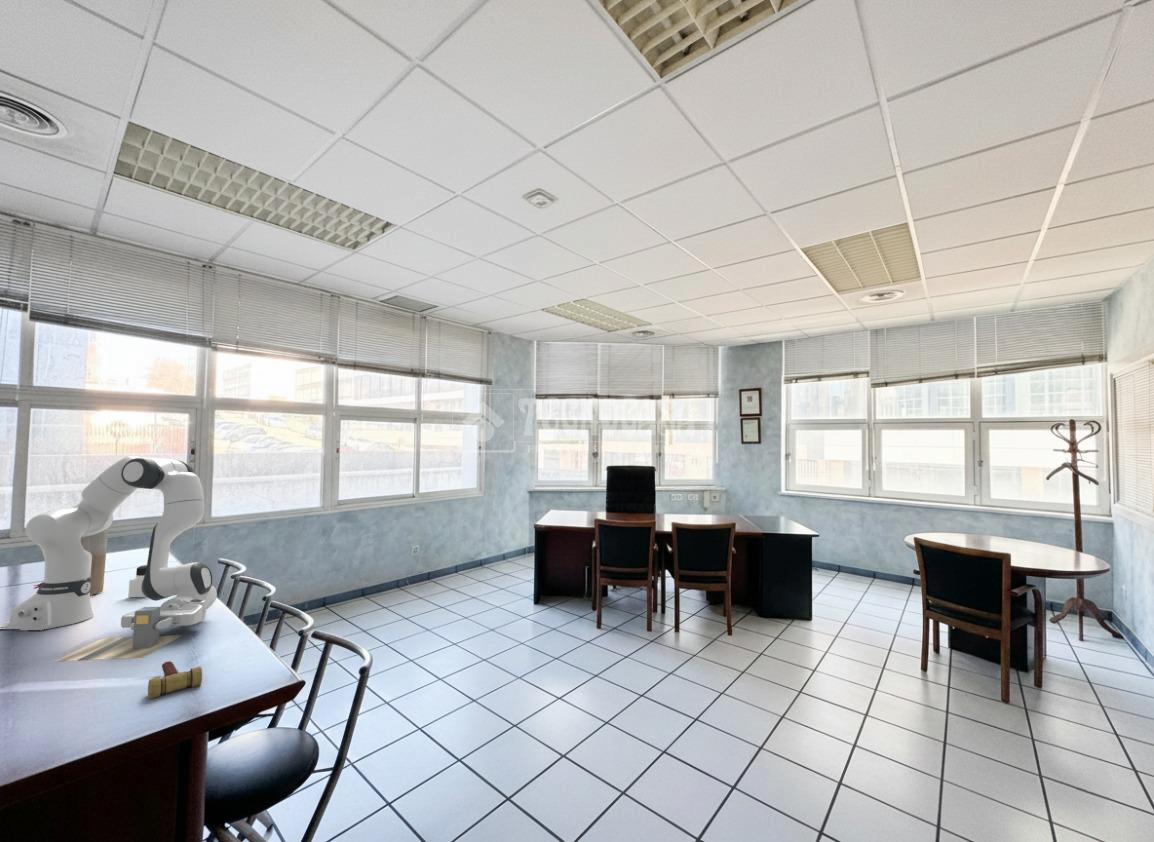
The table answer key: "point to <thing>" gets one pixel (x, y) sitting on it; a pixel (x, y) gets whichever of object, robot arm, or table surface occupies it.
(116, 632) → the table surface
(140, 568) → the medicine bottle
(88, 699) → the table surface
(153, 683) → the gavel
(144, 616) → the tall grey pillar
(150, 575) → the robot arm
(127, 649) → the board
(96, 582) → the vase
